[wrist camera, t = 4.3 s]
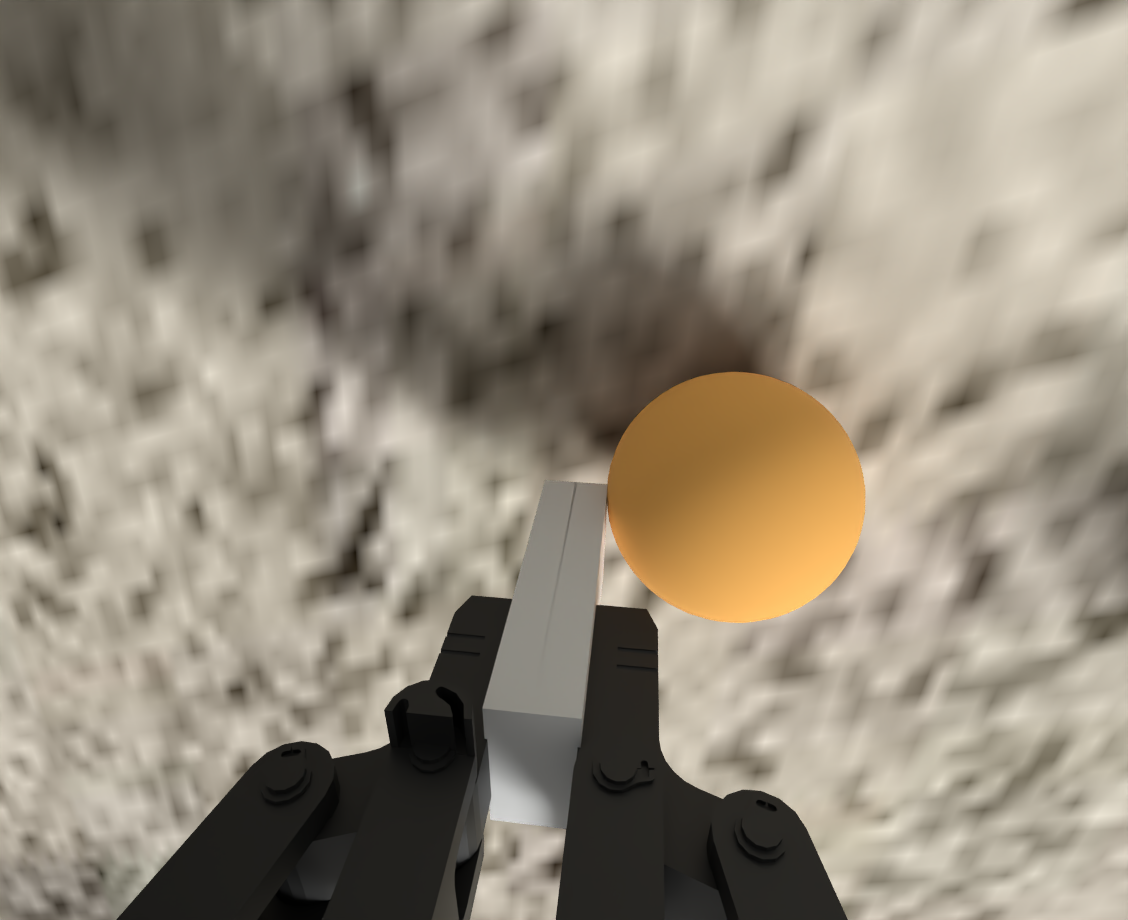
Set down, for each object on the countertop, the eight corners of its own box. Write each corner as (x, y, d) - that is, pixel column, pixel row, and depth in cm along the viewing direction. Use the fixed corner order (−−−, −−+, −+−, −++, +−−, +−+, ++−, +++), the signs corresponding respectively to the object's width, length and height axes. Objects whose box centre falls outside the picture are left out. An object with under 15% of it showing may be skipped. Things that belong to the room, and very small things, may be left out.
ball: (575, 351, 15) (660, 480, 10) (795, 321, 16) (961, 427, 11) (583, 539, 18) (651, 703, 13) (768, 504, 19) (892, 647, 14)
